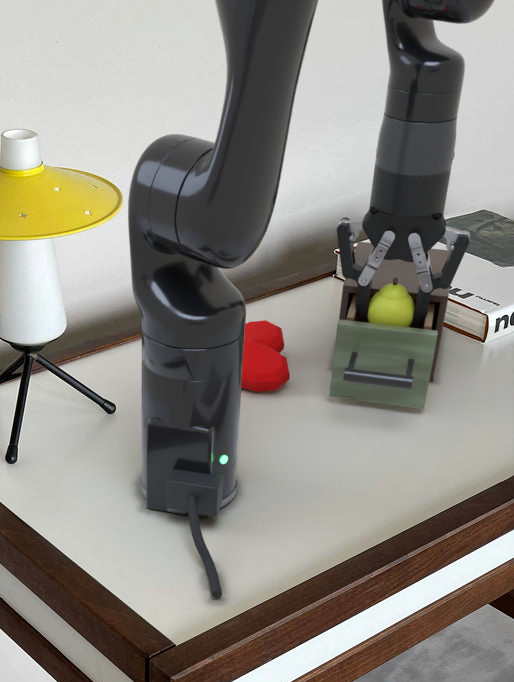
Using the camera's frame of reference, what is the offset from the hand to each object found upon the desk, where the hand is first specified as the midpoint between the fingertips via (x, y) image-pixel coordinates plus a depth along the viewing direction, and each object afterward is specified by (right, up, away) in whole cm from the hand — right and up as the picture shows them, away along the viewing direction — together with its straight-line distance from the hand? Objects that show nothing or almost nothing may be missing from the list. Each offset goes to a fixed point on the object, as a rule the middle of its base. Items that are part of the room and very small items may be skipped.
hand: (390, 317), depth 111 cm
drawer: (0, -7, +4) cm, 8 cm away
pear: (0, -2, +1) cm, 2 cm away
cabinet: (+3, -1, +14) cm, 14 cm away
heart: (-15, -5, +9) cm, 18 cm away
